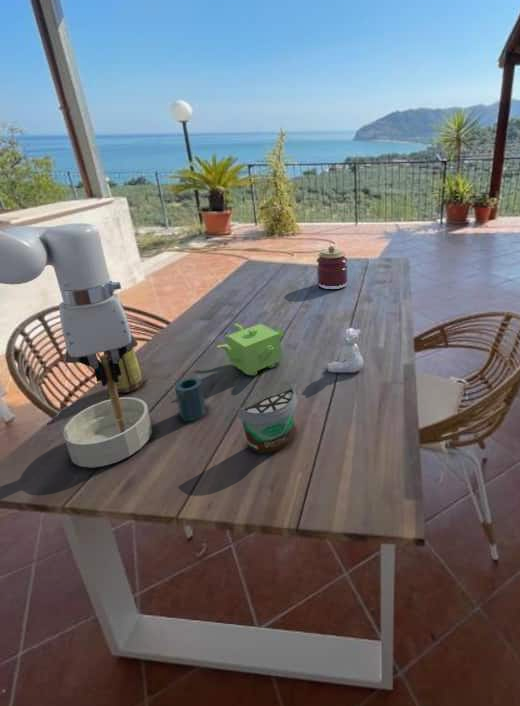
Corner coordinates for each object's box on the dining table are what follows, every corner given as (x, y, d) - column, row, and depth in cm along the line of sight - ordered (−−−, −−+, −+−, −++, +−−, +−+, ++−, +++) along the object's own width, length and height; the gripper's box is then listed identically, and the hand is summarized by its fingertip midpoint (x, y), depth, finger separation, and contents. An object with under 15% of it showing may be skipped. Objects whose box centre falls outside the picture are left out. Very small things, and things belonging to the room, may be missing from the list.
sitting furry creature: (344, 356, 112) (343, 318, 108) (370, 363, 108) (371, 324, 104) (326, 371, 104) (324, 331, 100) (354, 380, 100) (353, 338, 96)
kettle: (221, 381, 100) (215, 342, 96) (235, 354, 113) (230, 318, 110) (280, 379, 101) (276, 340, 97) (286, 352, 114) (284, 317, 110)
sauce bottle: (140, 377, 102) (124, 307, 95) (145, 388, 97) (129, 315, 90) (111, 386, 98) (92, 314, 91) (115, 398, 93) (96, 323, 86)
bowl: (52, 465, 74) (43, 439, 72) (109, 416, 87) (103, 394, 85) (119, 474, 71) (111, 448, 69) (167, 423, 85) (162, 400, 83)
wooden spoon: (119, 433, 79) (100, 360, 73) (118, 426, 81) (99, 354, 75) (127, 430, 79) (108, 358, 74) (125, 424, 81) (107, 352, 76)
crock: (176, 420, 86) (170, 389, 83) (189, 405, 90) (184, 376, 88) (197, 422, 85) (192, 391, 82) (210, 408, 90) (205, 378, 87)
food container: (255, 468, 73) (249, 424, 69) (241, 449, 77) (236, 407, 74) (310, 438, 80) (308, 397, 77) (295, 423, 85) (292, 384, 81)
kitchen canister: (342, 291, 162) (342, 250, 156) (313, 289, 165) (311, 249, 159) (350, 282, 174) (350, 243, 168) (323, 279, 177) (321, 241, 171)
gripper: (134, 280, 77) (151, 361, 83) (34, 296, 69) (61, 385, 75) (139, 290, 71) (157, 376, 78) (31, 309, 63) (61, 405, 69)
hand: (110, 380), depth 76 cm, fingers closed on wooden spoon, 1 cm apart
